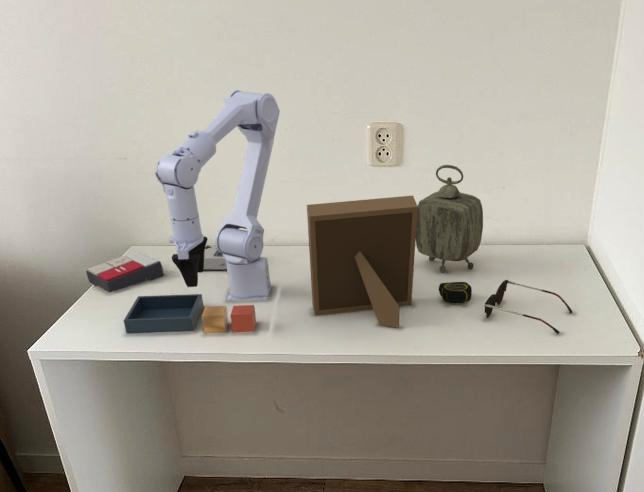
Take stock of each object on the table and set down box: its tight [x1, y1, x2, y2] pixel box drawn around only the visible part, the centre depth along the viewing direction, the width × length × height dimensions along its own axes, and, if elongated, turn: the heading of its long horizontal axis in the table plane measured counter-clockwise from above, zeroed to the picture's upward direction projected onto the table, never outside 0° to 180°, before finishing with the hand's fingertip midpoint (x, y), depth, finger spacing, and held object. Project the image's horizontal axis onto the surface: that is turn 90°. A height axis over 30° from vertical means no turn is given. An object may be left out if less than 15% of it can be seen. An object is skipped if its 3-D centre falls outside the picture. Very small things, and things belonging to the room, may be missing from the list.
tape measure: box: [438, 281, 473, 305], centre depth 164 cm, size 7×7×4 cm
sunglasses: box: [484, 279, 574, 335], centre depth 156 cm, size 14×16×5 cm
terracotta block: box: [230, 304, 257, 333], centre depth 156 cm, size 4×4×4 cm
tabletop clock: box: [415, 164, 484, 273], centre depth 174 cm, size 14×9×25 cm, turn 58°
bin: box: [123, 293, 205, 334], centre depth 161 cm, size 14×12×4 cm
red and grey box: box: [85, 251, 165, 293], centre depth 182 cm, size 11×4×15 cm
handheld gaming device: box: [204, 244, 227, 270], centre depth 187 cm, size 9×15×4 cm, turn 85°
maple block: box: [201, 305, 230, 334], centre depth 156 cm, size 4×4×4 cm
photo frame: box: [306, 195, 418, 328], centre depth 153 cm, size 15×22×25 cm
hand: (195, 279), depth 157 cm, fingers open, 7 cm apart
